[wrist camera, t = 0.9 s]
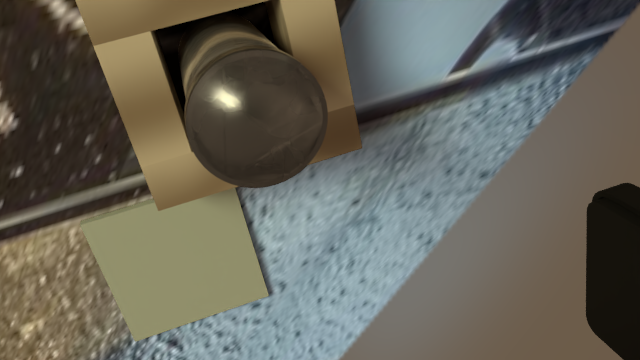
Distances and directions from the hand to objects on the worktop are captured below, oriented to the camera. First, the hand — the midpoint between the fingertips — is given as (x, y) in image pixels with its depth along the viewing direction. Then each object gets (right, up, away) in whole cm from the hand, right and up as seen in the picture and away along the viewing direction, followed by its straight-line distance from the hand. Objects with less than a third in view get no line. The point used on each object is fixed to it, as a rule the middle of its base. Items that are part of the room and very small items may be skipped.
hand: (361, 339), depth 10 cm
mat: (-9, -2, +25) cm, 27 cm away
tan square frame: (-6, +10, +21) cm, 24 cm away
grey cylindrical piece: (-6, +10, +21) cm, 24 cm away
